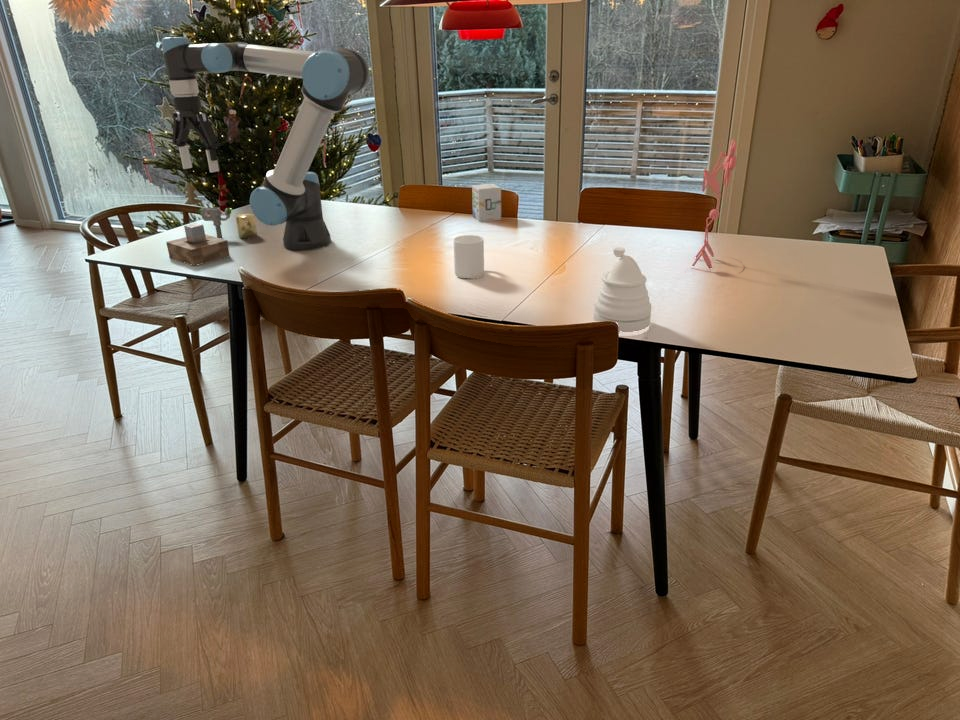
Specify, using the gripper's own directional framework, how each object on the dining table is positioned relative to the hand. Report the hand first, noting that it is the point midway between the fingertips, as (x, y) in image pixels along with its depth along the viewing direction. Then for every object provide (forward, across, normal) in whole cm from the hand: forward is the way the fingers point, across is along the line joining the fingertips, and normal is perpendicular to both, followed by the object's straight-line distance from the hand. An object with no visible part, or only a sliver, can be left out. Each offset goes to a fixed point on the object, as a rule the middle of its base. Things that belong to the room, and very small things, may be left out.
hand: (201, 170), depth 211 cm
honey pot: (+28, -134, -14) cm, 137 cm away
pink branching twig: (+28, -138, -69) cm, 156 cm away
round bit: (+25, +5, -16) cm, 30 cm away
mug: (+27, -82, -26) cm, 90 cm away
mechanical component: (+25, +11, -9) cm, 29 cm away
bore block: (+25, -2, +8) cm, 26 cm away
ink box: (+26, -50, -79) cm, 97 cm away
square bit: (+25, -2, +8) cm, 26 cm away
